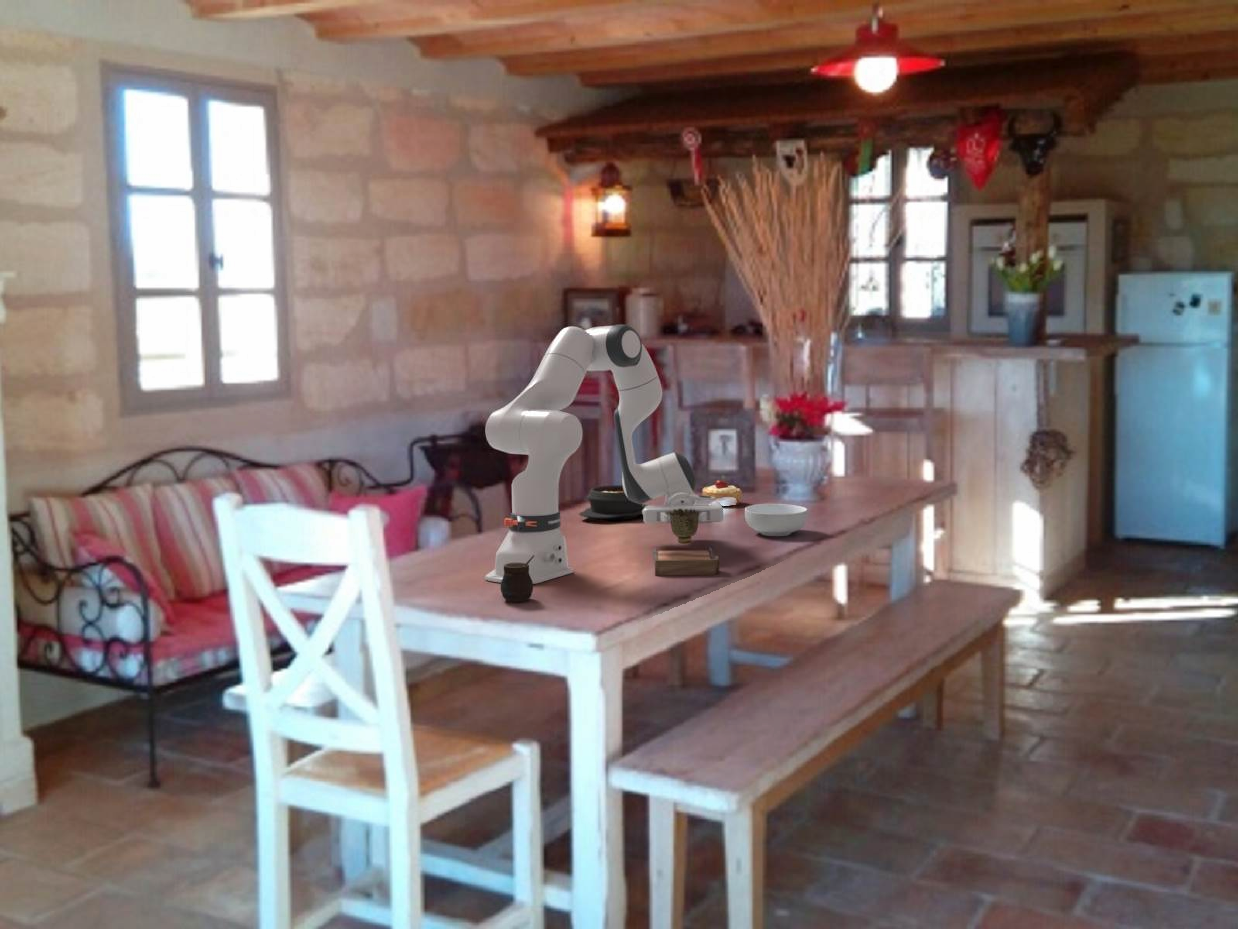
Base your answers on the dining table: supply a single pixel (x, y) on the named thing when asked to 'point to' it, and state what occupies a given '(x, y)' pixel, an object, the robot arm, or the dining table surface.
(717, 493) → the pastry
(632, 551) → the dining table surface
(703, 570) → the brown wooden tray
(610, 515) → the casserole
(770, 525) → the cereal bowl
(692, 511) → the cup
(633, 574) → the dining table surface
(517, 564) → the mate gourd
